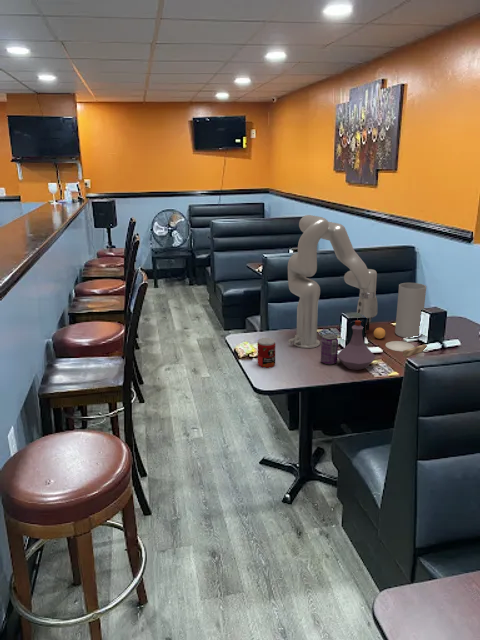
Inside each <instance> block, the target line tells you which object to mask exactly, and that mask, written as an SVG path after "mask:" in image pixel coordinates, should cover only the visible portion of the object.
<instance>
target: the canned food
mask: <svg viewBox="0 0 480 640" xmlns="http://www.w3.org/2000/svg"><path fill="white" fill-rule="evenodd" d="M257 364H258V366H259V367H260V366H261V367H260V368H263V367H266V368H265V369H270V368H269V367H271V368H273V367H274V366H275V365H276V340H275V339H274V338H270V337H262V338H259V339H257Z"/></svg>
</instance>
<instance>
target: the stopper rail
mask: <svg viewBox="0 0 480 640" xmlns="http://www.w3.org/2000/svg"><path fill="white" fill-rule="evenodd" d="M426 347H427V348H428V344H425V343H423V344H422V345H418V346H414V348H411V349H407V350H404V351H403V352H402V356H403V357H404V358H406V357H410V356H413V355H416V354H417V355H418V354H420V353H422V351H423V350H424V349H425V348H426ZM423 352H424V351H423Z"/></svg>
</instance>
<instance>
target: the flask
mask: <svg viewBox="0 0 480 640" xmlns="http://www.w3.org/2000/svg"><path fill="white" fill-rule="evenodd" d="M361 323H362V321H360V320H358V319H357V320H354V324H353V325H352V326H351V330H352V335H351V339H350V341H349V343H347V345H346V346H345V347H343V348H342V349H341V350H340V351H339V352H338V355H337V359H338V360H339V361H340V362H341V363H342V364H343V366H345V367H346V368H347V369H349V370H353V371H361V370H365V369H366V368H368V366H369V365H371V364H372V363H373V361H374V360H375V358H376V355H375V354H374V353H373V352H372V350H370V349H369V348H368V347H367V345H366V344H365V342H364V337H363V328H364V327H363V326H362V324H361Z"/></svg>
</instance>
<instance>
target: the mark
mask: <svg viewBox="0 0 480 640" xmlns="http://www.w3.org/2000/svg"><path fill="white" fill-rule="evenodd" d="M385 347H386V348H387V349H389V350H391V351H394V352H395V351H396V352H402V353H403V351H404V350H407V349H411V348H414V347H415V345H414V344H412V343H411V342H407V341H401V340H400V341H399V340H392V341H388V342H386V343H385Z"/></svg>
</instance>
